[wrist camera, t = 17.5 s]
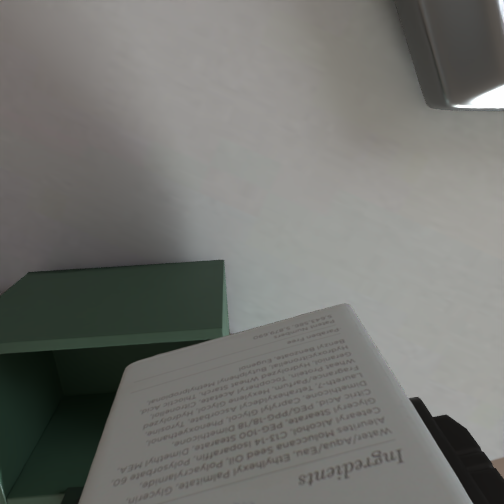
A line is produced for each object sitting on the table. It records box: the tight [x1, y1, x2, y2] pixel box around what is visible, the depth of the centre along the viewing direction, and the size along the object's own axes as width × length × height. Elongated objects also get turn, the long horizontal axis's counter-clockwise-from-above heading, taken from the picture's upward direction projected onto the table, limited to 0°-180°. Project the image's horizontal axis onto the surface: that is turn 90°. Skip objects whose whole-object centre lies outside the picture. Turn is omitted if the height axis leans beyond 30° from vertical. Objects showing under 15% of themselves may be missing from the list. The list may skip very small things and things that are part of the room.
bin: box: [0, 260, 230, 504], centre depth 25 cm, size 20×13×12 cm, turn 3°
